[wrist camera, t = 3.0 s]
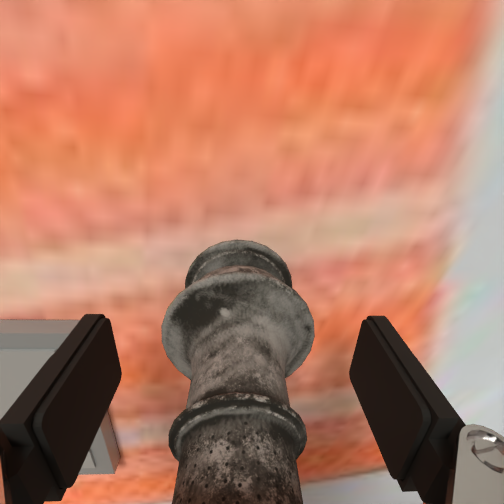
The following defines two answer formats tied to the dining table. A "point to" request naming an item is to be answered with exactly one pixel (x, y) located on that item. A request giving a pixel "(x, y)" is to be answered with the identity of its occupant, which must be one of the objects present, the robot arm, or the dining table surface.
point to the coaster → (28, 365)
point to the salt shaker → (237, 377)
